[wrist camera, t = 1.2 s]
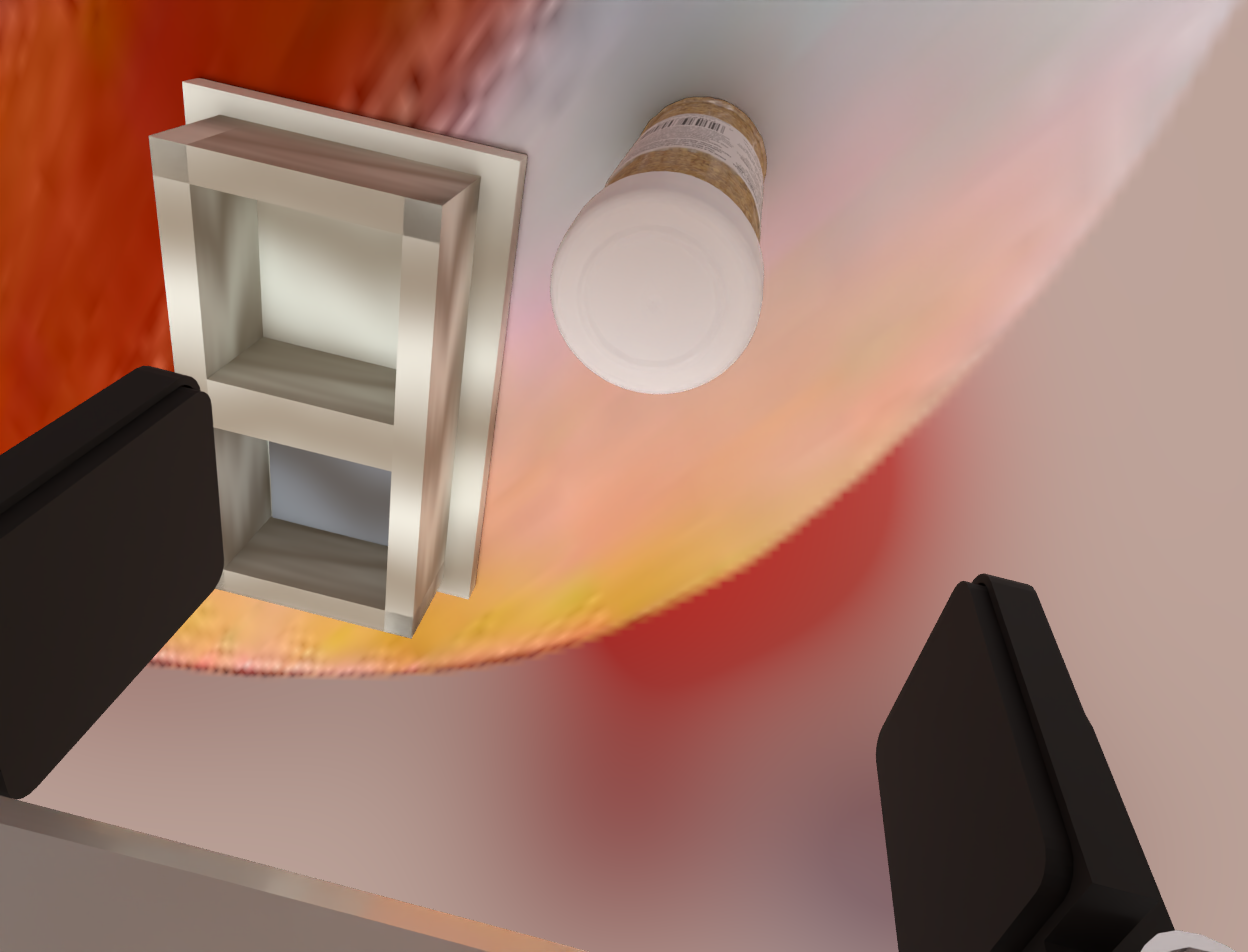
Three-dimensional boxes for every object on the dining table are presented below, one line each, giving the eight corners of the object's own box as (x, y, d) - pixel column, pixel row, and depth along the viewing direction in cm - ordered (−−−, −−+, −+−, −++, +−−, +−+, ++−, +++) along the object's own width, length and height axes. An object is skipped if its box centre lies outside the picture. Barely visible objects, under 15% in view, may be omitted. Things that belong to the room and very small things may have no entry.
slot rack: (198, 78, 30) (104, 98, 26) (527, 155, 30) (486, 189, 26) (233, 525, 41) (170, 591, 37) (475, 585, 41) (439, 659, 36)
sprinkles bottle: (625, 216, 30) (532, 375, 19) (649, 79, 28) (559, 168, 17) (750, 244, 30) (732, 421, 19) (786, 108, 28) (789, 219, 17)
